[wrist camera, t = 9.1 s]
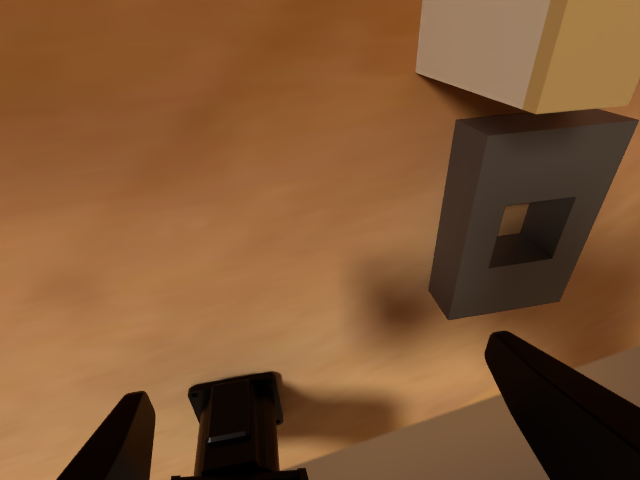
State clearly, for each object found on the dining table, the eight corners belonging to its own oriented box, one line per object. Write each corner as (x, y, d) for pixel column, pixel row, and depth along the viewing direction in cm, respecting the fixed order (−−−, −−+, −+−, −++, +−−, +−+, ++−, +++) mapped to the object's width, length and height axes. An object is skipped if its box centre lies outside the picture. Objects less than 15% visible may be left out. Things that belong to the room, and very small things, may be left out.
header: (529, 274, 26) (559, 301, 24) (428, 290, 25) (448, 320, 23) (589, 106, 20) (639, 120, 17) (456, 119, 19) (488, 135, 16)
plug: (472, 68, 18) (628, 105, 10) (415, 72, 17) (535, 114, 10) (485, -6, 16) (680, -21, 9) (422, -2, 16) (572, -16, 8)
